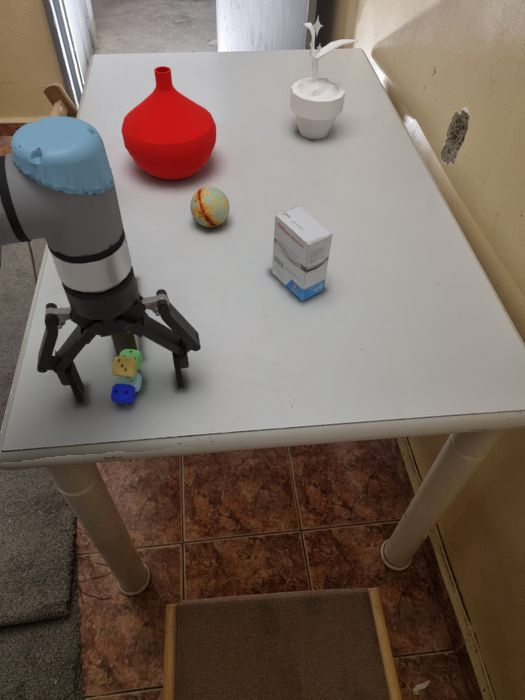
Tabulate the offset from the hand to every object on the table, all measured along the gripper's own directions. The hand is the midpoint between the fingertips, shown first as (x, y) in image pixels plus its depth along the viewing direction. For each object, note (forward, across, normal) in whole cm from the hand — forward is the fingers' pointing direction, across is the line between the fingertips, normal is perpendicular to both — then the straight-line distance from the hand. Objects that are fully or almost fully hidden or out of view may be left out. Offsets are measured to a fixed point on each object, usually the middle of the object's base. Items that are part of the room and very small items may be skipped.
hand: (131, 387), depth 71 cm
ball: (0, -16, -35) cm, 38 cm away
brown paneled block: (0, 0, -13) cm, 13 cm away
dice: (0, 0, 0) cm, 0 cm away
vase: (0, -11, -55) cm, 56 cm away
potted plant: (+1, -44, -64) cm, 78 cm away
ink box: (0, -28, -17) cm, 33 cm away
